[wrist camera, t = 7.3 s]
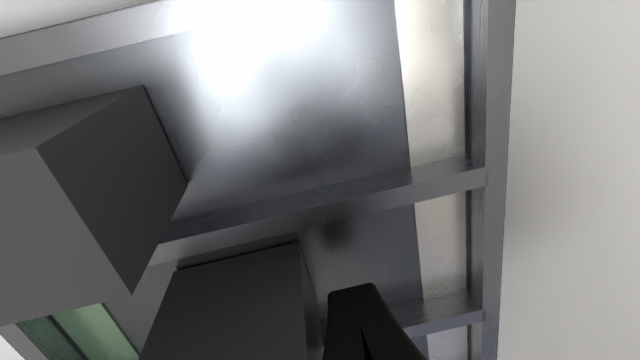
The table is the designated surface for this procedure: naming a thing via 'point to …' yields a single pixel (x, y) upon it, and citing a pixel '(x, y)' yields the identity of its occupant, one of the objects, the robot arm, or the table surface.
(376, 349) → the robot arm
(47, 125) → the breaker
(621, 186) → the table surface
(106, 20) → the panel
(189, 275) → the block
